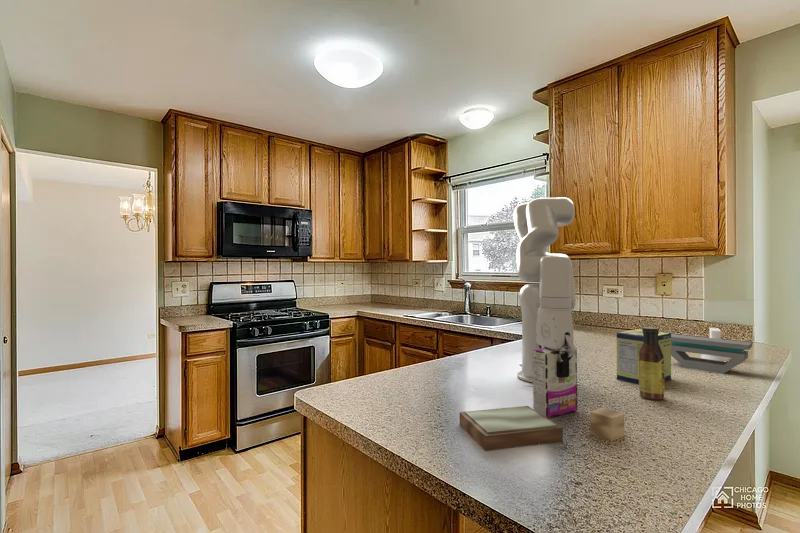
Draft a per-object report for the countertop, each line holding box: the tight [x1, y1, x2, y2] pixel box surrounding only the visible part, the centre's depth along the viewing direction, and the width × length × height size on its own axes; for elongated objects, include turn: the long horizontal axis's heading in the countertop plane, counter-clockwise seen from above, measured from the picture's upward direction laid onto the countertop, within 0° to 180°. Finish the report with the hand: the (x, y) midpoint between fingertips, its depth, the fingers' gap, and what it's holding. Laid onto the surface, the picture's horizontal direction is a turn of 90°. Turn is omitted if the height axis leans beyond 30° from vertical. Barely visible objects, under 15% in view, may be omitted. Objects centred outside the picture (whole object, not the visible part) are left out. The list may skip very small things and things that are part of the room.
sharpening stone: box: [671, 333, 753, 374], centre depth 149 cm, size 25×8×11 cm, turn 42°
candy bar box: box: [532, 347, 578, 419], centre depth 105 cm, size 11×5×16 cm, turn 117°
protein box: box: [616, 328, 672, 385], centre depth 136 cm, size 10×16×16 cm
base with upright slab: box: [700, 327, 730, 361], centre depth 164 cm, size 9×9×12 cm
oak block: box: [589, 406, 625, 442], centre depth 91 cm, size 5×5×5 cm
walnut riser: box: [459, 405, 564, 452], centre depth 92 cm, size 14×18×3 cm
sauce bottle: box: [638, 326, 666, 401], centre depth 117 cm, size 6×6×20 cm
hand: (554, 373), depth 105 cm, fingers closed on candy bar box, 5 cm apart
